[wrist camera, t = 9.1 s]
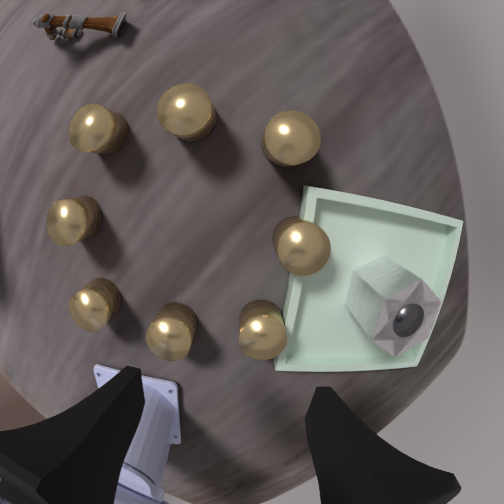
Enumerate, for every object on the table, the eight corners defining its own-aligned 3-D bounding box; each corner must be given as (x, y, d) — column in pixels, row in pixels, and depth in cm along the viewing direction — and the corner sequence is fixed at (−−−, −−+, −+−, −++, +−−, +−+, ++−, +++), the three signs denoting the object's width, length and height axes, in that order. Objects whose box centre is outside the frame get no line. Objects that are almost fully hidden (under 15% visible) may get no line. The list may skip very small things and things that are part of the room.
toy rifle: (47, 29, 12) (35, 8, 8) (125, 33, 16) (126, 10, 12) (39, 45, 12) (25, 27, 8) (117, 50, 16) (116, 29, 12)
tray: (409, 357, 21) (416, 366, 20) (273, 358, 20) (275, 370, 19) (451, 218, 18) (463, 221, 16) (303, 185, 17) (308, 186, 16)
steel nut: (390, 321, 19) (421, 355, 15) (340, 319, 19) (364, 359, 14) (408, 258, 18) (448, 281, 13) (356, 251, 18) (391, 276, 13)
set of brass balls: (294, 349, 20) (301, 373, 17) (77, 317, 19) (59, 333, 16) (334, 116, 16) (350, 106, 13) (81, 103, 15) (59, 94, 12)
